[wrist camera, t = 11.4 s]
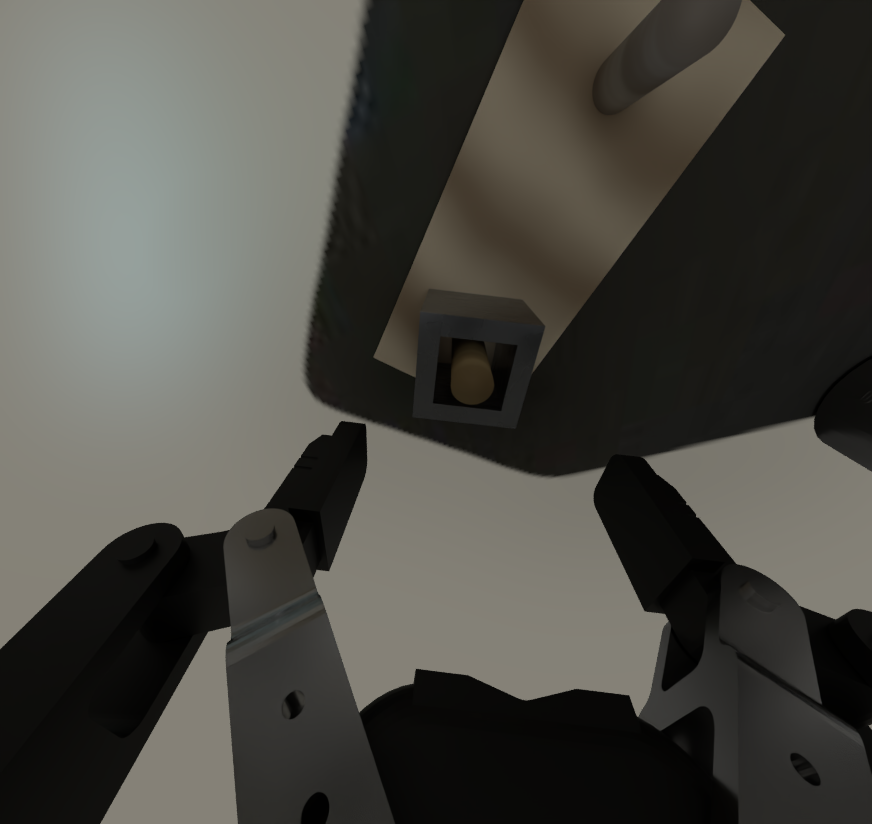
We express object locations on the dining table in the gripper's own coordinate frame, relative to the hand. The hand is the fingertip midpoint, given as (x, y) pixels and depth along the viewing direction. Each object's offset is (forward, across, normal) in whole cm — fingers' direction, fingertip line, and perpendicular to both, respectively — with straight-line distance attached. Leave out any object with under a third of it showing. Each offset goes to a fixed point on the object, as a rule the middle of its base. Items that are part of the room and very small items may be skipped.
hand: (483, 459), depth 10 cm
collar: (+11, 0, 0) cm, 11 cm away
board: (+13, -2, -6) cm, 15 cm away
